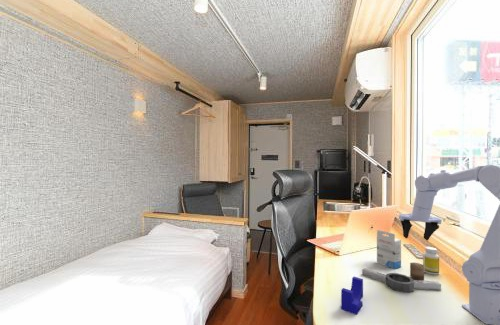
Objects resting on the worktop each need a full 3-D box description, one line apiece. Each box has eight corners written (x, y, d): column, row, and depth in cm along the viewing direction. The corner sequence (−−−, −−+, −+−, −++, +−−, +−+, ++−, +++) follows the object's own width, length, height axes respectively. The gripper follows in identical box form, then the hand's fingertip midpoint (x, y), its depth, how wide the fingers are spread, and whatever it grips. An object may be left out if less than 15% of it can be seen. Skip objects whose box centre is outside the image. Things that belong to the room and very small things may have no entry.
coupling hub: (426, 283, 93) (426, 267, 93) (413, 282, 94) (414, 266, 94) (419, 277, 98) (419, 262, 98) (407, 277, 99) (407, 261, 99)
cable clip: (356, 315, 73) (356, 294, 73) (341, 309, 76) (341, 289, 76) (367, 298, 82) (367, 280, 82) (353, 294, 85) (353, 276, 85)
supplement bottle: (442, 275, 100) (442, 250, 100) (426, 274, 101) (426, 249, 102) (435, 270, 106) (435, 246, 106) (420, 269, 107) (420, 245, 107)
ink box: (401, 267, 109) (401, 232, 109) (394, 269, 106) (395, 234, 106) (382, 260, 116) (383, 228, 116) (376, 262, 114) (376, 229, 114)
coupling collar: (447, 295, 85) (447, 286, 85) (374, 290, 88) (374, 281, 88) (422, 276, 99) (422, 268, 99) (361, 273, 102) (361, 265, 102)
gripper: (436, 203, 100) (429, 234, 103) (398, 200, 101) (391, 231, 105) (448, 211, 93) (439, 244, 96) (406, 207, 94) (399, 240, 98)
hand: (415, 238), depth 100 cm, fingers open, 7 cm apart
